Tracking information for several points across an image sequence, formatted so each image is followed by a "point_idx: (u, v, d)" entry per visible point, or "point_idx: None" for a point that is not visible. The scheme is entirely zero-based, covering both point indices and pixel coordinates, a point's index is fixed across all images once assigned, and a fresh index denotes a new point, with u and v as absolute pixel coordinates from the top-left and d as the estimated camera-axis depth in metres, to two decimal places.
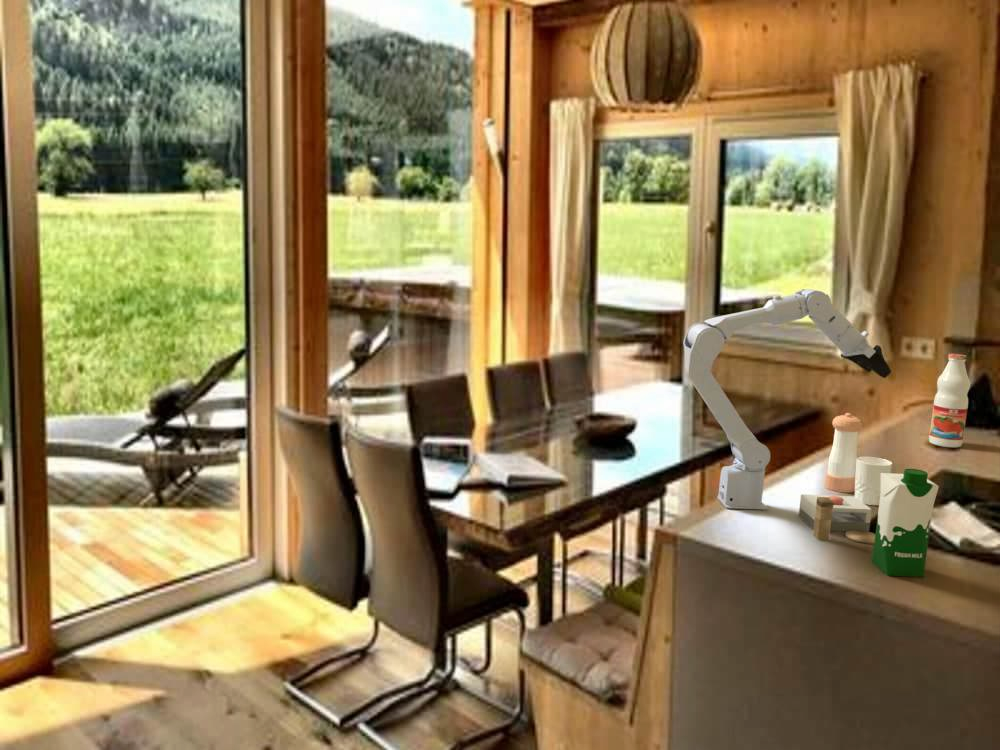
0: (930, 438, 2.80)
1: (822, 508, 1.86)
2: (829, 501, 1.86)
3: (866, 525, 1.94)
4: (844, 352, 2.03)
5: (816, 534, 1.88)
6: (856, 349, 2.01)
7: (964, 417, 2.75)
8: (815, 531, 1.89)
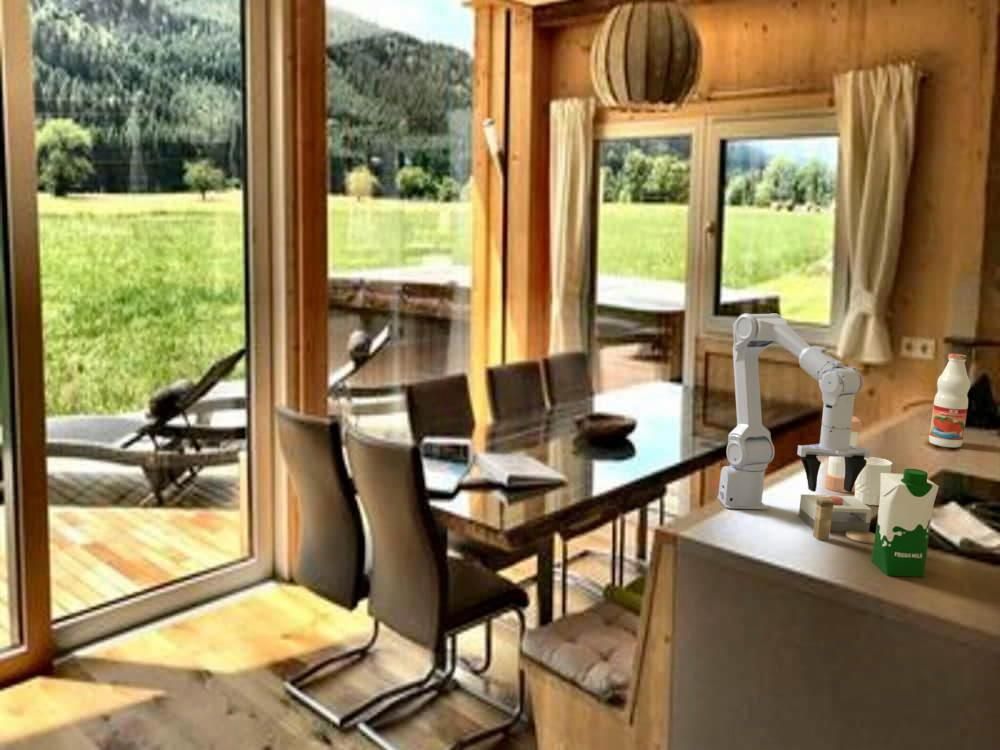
0: (930, 438, 2.80)
1: (822, 508, 1.86)
2: (829, 501, 1.86)
3: (866, 525, 1.94)
4: None
5: (816, 534, 1.88)
6: (818, 447, 1.86)
7: (964, 417, 2.75)
8: (815, 531, 1.89)
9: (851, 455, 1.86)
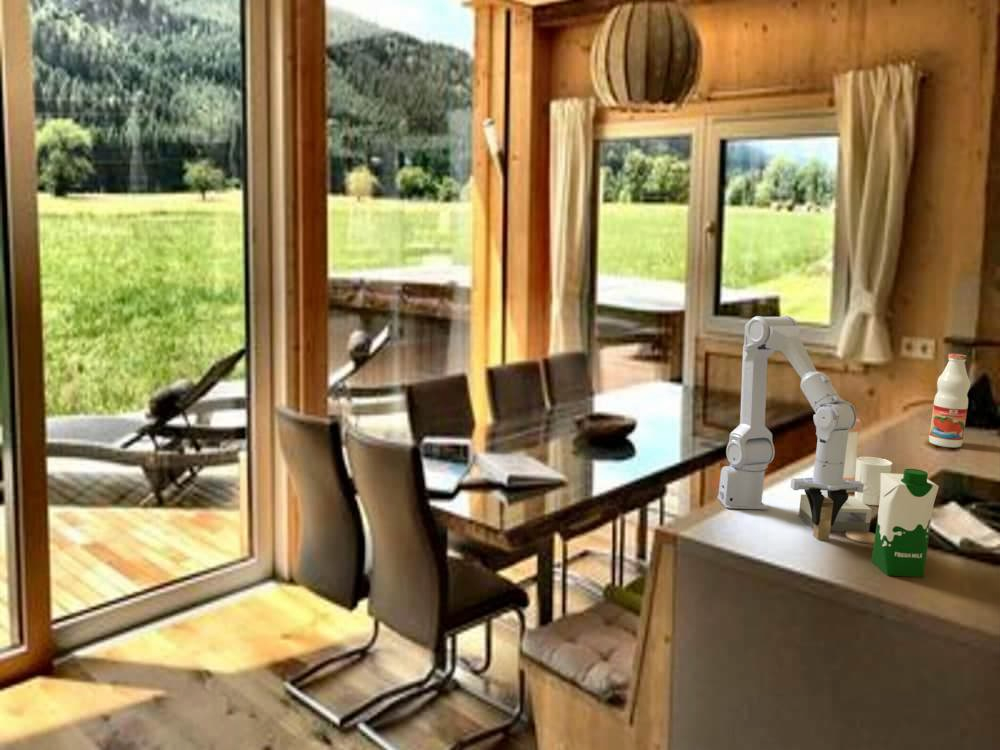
0: (930, 438, 2.80)
1: (822, 508, 1.86)
2: (829, 501, 1.86)
3: (866, 525, 1.94)
4: None
5: (816, 534, 1.88)
6: None
7: (964, 417, 2.75)
8: (815, 531, 1.89)
9: (844, 489, 1.87)
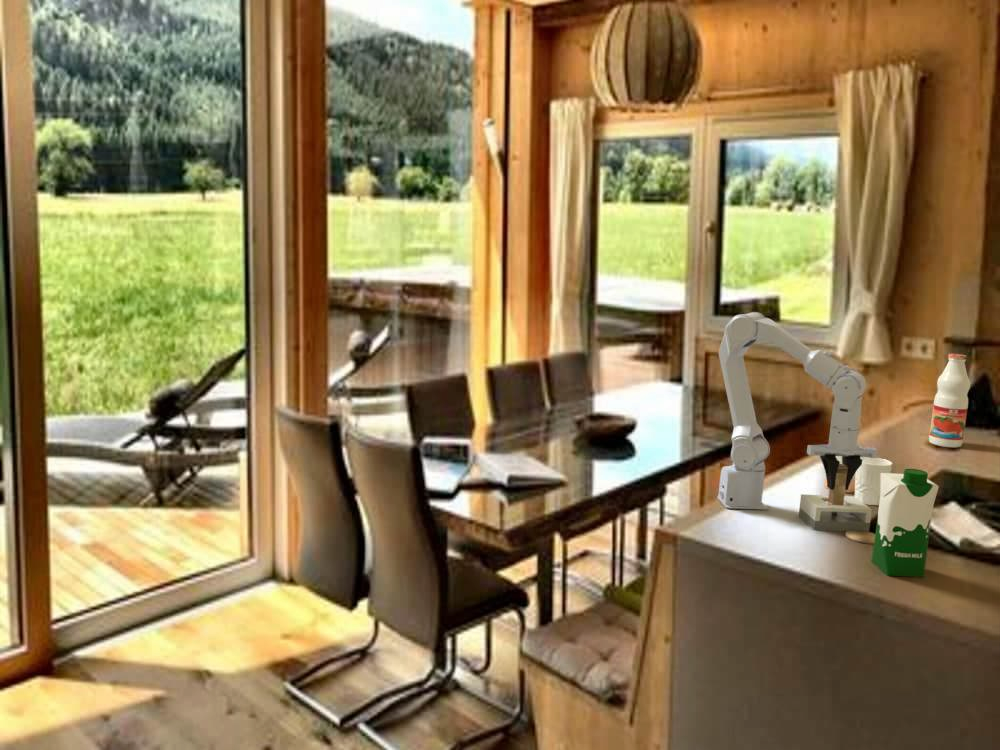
0: (930, 438, 2.80)
1: (837, 474, 1.95)
2: (844, 467, 1.95)
3: (866, 525, 1.94)
4: None
5: (831, 499, 1.97)
6: (827, 447, 1.96)
7: (964, 417, 2.75)
8: (830, 497, 1.98)
9: (858, 455, 1.96)
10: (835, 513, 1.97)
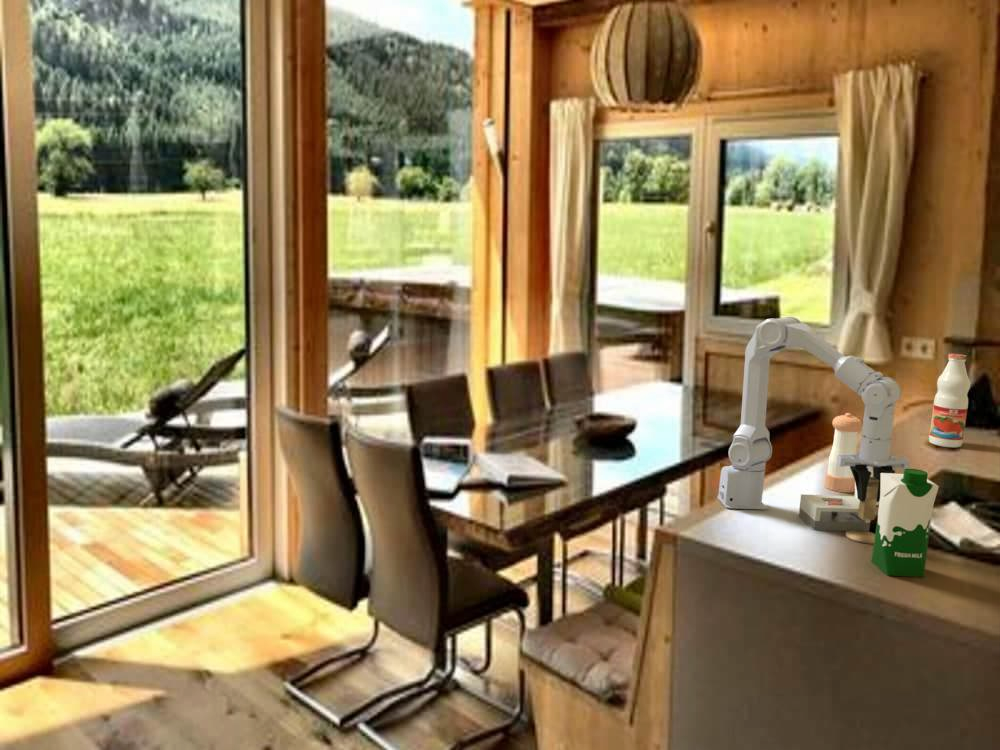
0: (930, 438, 2.80)
1: (868, 488, 1.87)
2: (875, 480, 1.87)
3: (866, 525, 1.94)
4: None
5: (861, 513, 1.89)
6: (857, 457, 1.88)
7: (964, 417, 2.75)
8: (860, 511, 1.90)
9: (890, 466, 1.87)
10: (835, 513, 1.97)
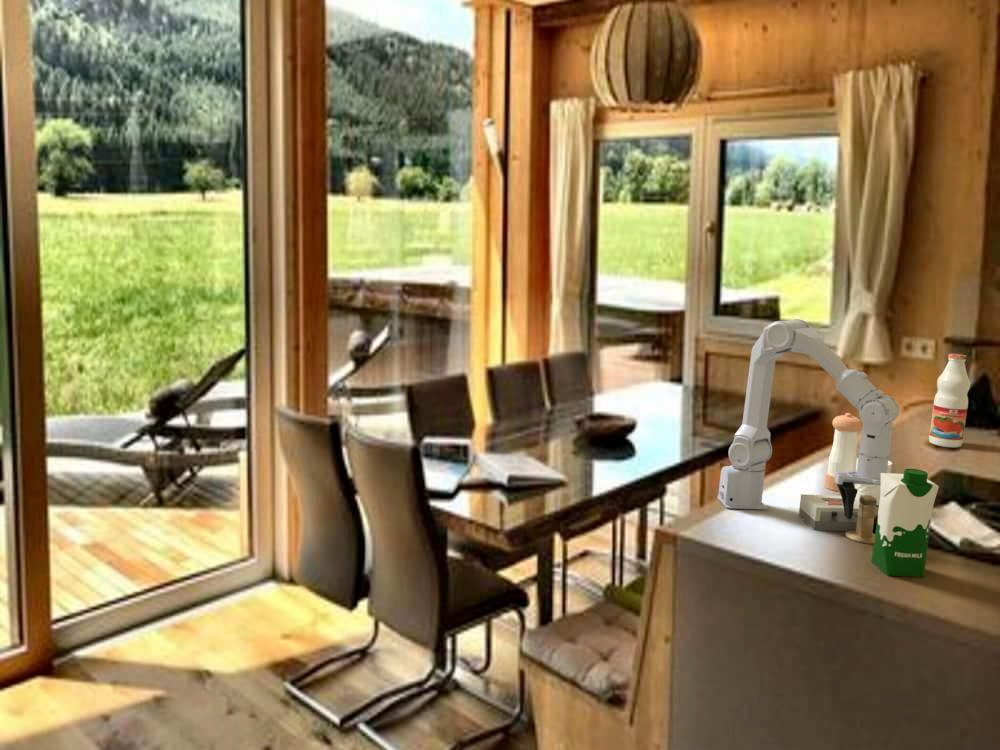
0: (930, 438, 2.80)
1: (865, 506, 1.88)
2: (872, 499, 1.88)
3: None
4: None
5: (859, 532, 1.90)
6: (855, 474, 1.89)
7: (964, 417, 2.75)
8: (857, 529, 1.90)
9: None
10: (835, 513, 1.97)
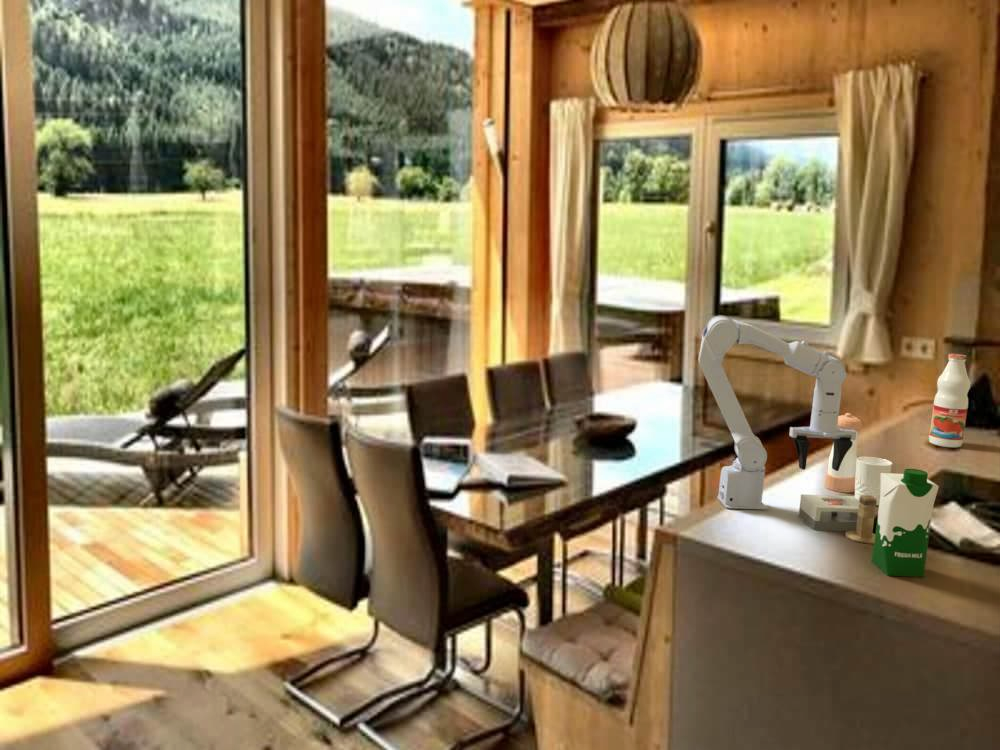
0: (930, 438, 2.80)
1: (865, 506, 1.88)
2: (872, 499, 1.88)
3: None
4: None
5: (859, 532, 1.90)
6: (808, 429, 2.04)
7: (964, 417, 2.75)
8: (857, 529, 1.90)
9: (839, 437, 2.04)
10: (835, 513, 1.97)
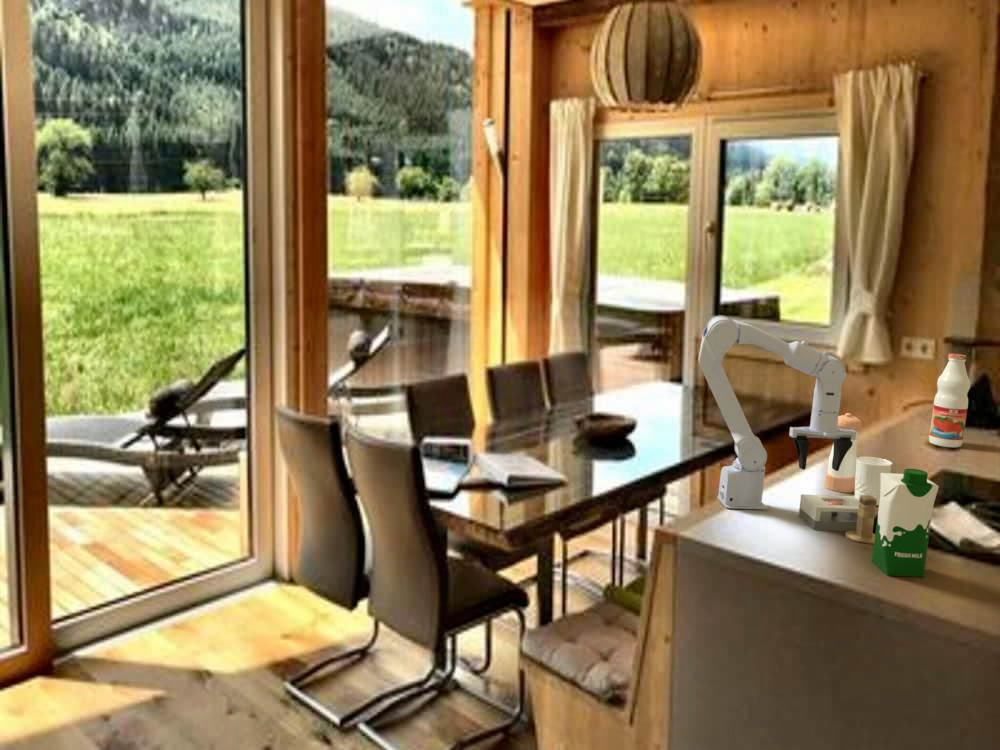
0: (930, 438, 2.80)
1: (865, 506, 1.88)
2: (872, 499, 1.88)
3: None
4: None
5: (859, 532, 1.90)
6: (808, 429, 2.04)
7: (964, 417, 2.75)
8: (857, 529, 1.90)
9: (839, 437, 2.04)
10: (835, 513, 1.97)
